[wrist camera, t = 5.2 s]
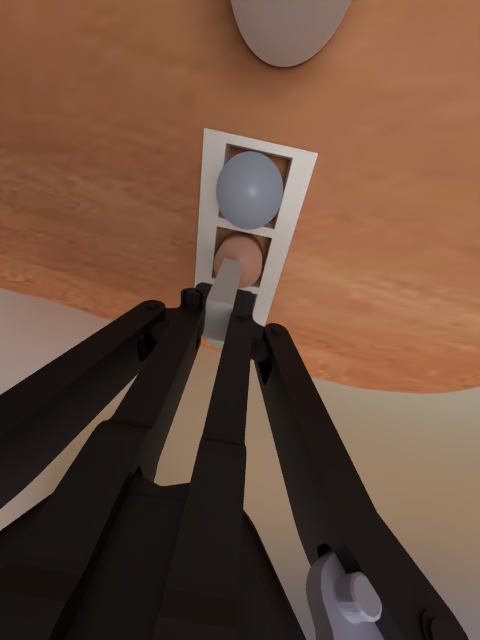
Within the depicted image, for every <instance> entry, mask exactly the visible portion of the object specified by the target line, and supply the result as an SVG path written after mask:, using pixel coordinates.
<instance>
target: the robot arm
mask: <svg viewBox="0 0 480 640" xmlns="http://www.w3.org/2000/svg"><path fill="white" fill-rule="evenodd" d="M242 265H243V262H240V261H236V260H231V259H226V258H224V261H223V263H222V265H221V267H220V270H219V272H218V274H217V276H216V279H215V281H214V283H213V284H209V283H204V282H201V283H199V284H197V285H196V287H195V288H186V289H183V290H182V291H181V305H180V306H179V307H178V308H165V304H164V303H163V302H161V301H157V300H148V301H144V302H142V303H140V304H139V305H137V306H136V307H134V308H133V309H131V310H130V311H128V312H127V313H125V314H124V315H122V316H120V317H119V318H117V319H116V320H114V321H113V322H111V323H110V324H108V325H107V326H105V327H104V328H102V329H101V330H99V331H98V332H96V333H94V334H93V335H91V336H90V337H88V338H87V339H85V340H84V341H82V342H81V343H79V344H78V345H76V346H75V347H73V348H71V349H70V350H69V351H67V352H65V353H64V354H62V355H61V356H59V357H58V358H56V359H55V360H53V361H52V362H50V363H49V364H47V365H45V366H44V367H42V368H41V369H39V370H38V371H36V372H35V373H33V374H32V375H30V376H29V377H27V378H26V379H24V380H23V381H21V382H19V383H18V384H16V385H15V386H13V387H12V388H10V389H9V390H7V391H6V392H4V393H3V394H1V395H0V509H1V508H2V507H3V506H4V505H6V504H7V503H8V502H9V501H10V500H12V499H13V498H14V497H15V496H16V495H17V494H18V493H20V492H21V491H22V490H23V489H24V488H25V487H26V486H27V485H28V484H30V482H32V481H33V480H34V479H35V478H36V477H37V476H38V475H39V474H40V473H41V472H42V471H43V470H44V469H45V468H46V467H47V466H48V465H49V464H50V463H51V462H52V461H53V460H54V459H55V458H56V457H57V455H59V454H60V453H61V452H62V451H63V450H64V449H65V448H66V447H67V445H68V444H69V443H70V442H71V441H72V440H73V439H74V438H75V437H76V436H77V435H78V434H79V433H80V432H81V431H82V430H83V429H84V428H85V427H86V426H87V425H88V424H89V423H90V422H91V421H92V420H93V419H94V418H95V417H96V416H97V415H98V414H99V413H100V412H101V411H102V410H103V409H104V408H105V406H107V405H108V404H109V403H110V402H111V401H112V399H114V397H116V395H117V394H118V393H119V392H120V391H121V390H122V389H123V388H124V387H125V386H126V385H127V384H128V383H129V382H130V381H131V380H132V379H133V378H134V377H135V376H136V375H137V374H138V373H139V374H138V375H137V377H136V379H135V380H134V382H133V383H132V385H131V387H130V388H129V390H128V392H127V393H126V395H125V397H124V398H123V400H122V401H121V403H120V405H119V406H118V408H117V410H116V411H115V413H114V415H113V416H112V417H111V418H110V419H109V420H106V421H102V422H101V423H100V424H99V425H97V427H96V428H95V430H94V431H93V432H92V434H91V435H90V437H89V438H88V440H87V441H86V443H85V444H84V446H83V447H82V449H81V451H80V452H79V454H78V455H77V457H76V458H75V460H74V461H73V463H72V464H71V466H70V467H69V469H68V470H67V472H66V474H65V475H64V477H63V479H62V480H61V481H60V483H59V484H58V486H57V487H56V489H55V491H54V492H53V493H52V494H51V495H49V496H48V497H46V498H45V499H43V500H42V501H41V502H39V503H38V504H37V505H35V506H34V507H32V508H31V509H30V510H28V511H27V512H26V513H24V514H23V515H21V516H20V517H19V518H17V519H16V520H14V521H13V522H12V523H10V524H9V525H8V526H6V527H5V528H3V529H2V530H1V531H0V640H306V638H305V636H304V634H303V631H302V629H301V627H300V625H299V623H298V621H297V618H296V616H295V614H294V612H293V609H292V607H291V605H290V603H289V601H288V599H287V596H286V594H285V592H284V589H283V587H282V585H281V583H280V581H279V578H278V576H277V574H276V572H275V570H274V567H273V565H272V563H271V561H270V559H269V556H268V555H267V552H266V550H265V547H264V545H263V543H262V541H261V539H260V537H259V534H258V532H257V530H256V528H255V526H254V525H253V523H252V521H251V519H250V518H249V516H248V515H247V514H246V512H245V511H244V510H243V502H244V501H243V500H244V486H245V470H246V446H245V425H246V412H247V399H248V386H249V373H250V359H253V360H254V364H255V367H256V371H257V375H258V379H259V383H260V387H261V391H262V395H263V399H264V403H265V406H266V411H267V414H268V419H269V423H270V426H271V430H272V434H273V438H274V442H275V446H276V450H277V454H278V458H279V462H280V466H281V470H282V474H283V478H284V482H285V486H286V489H287V493H288V497H289V501H290V505H291V509H292V513H293V517H294V520H295V524H296V527H297V530H298V534H299V537H300V540H301V543H302V545H303V548H304V550H305V553H306V556H307V558H308V561H309V563H310V565H311V568H310V570H309V573H308V576H307V582H306V593H307V601H308V605H309V608H310V612H311V615H312V619H313V622H314V626H315V633H316V640H469V639H468V637H467V635H466V633H465V632H464V630H463V628H462V627H461V625H460V624H459V622H458V621H457V619H456V617H455V616H454V614H453V613H452V612H451V610H450V609H449V607H448V606H447V605H446V604H445V602H444V601H443V600H442V598H441V597H440V596H439V594H438V593H437V592H436V590H435V589H434V588H433V586H432V585H431V584H430V582H429V581H428V580H427V578H426V577H425V576H424V574H423V573H422V572H421V570H420V569H419V568H418V566H417V565H416V564H415V562H414V561H413V560H412V558H411V557H410V556H409V554H408V553H407V552H406V550H405V549H404V548H403V546H402V545H401V544H400V542H399V541H398V540H397V538H396V537H395V536H394V534H393V533H392V532H391V530H390V529H389V528H388V526H387V525H386V524H385V522H384V521H383V520H382V519H381V517H380V516H379V514H378V513H377V512H376V509H375V508H374V505H373V503H372V501H371V499H370V497H369V495H368V493H367V491H366V489H365V487H364V485H363V483H362V481H361V479H360V477H359V475H358V473H357V471H356V469H355V467H354V465H353V463H352V461H351V459H350V457H349V454H348V453H347V450H346V449H345V446H344V444H343V442H342V440H341V438H340V437H339V434H338V432H337V430H336V428H335V426H334V424H333V422H332V420H331V418H330V416H329V414H328V412H327V410H326V408H325V406H324V404H323V402H322V400H321V398H320V395H319V393H318V391H317V389H316V387H315V385H314V383H313V381H312V379H311V377H310V375H309V373H308V371H307V369H306V367H305V365H304V363H303V361H302V359H301V357H300V355H299V353H298V351H297V349H296V347H295V345H294V343H293V340H292V338H291V336H290V334H289V332H288V331H287V329H286V328H285V327H283V326H282V325H279V324H275V323H270V324H267V325H266V326H265V327H264V326H262V325H260V324H258V323H257V322H255V321H254V319H253V316H252V314H253V300H254V295H253V294H252V292H251V291H246V290H241V289H238V286H239V281H240V275H241V270H242ZM202 334H203V337H204V338H209V339H214V340H219V341H224V345H223V349H222V353H221V358H220V362H219V366H218V370H217V375H216V379H215V383H214V387H213V392H212V396H211V400H210V405H209V409H208V413H207V417H206V422H205V426H204V430H203V435H202V437H201V440H200V444H199V448H198V452H197V456H196V461H195V465H194V469H193V473H192V477H191V482H190V483H185V484H177V485H171V486H159V485H157V484H155V483H154V478H155V475H156V469H157V465H158V461H159V458H160V455H161V452H162V450H163V447H164V444H165V441H166V438H167V435H168V433H169V430H170V427H171V424H172V422H173V418H174V416H175V413H176V411H177V408H178V405H179V402H180V399H181V396H182V394H183V391H184V388H185V385H186V382H187V380H188V377H189V374H190V371H191V369H192V366H193V363H194V360H195V358H196V355H197V352H198V349H199V346H200V344H201V336H202Z"/></svg>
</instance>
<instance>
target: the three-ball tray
mask: <svg viewBox="0 0 480 640" xmlns="http://www.w3.org/2000/svg"><path fill="white" fill-rule="evenodd" d="M230 146H231V147H235V148H240V149H244V150H249V151H253V152H258V153H262V154H267V155H271V156H276V157H280V158H285V159H289V160H290V162H289V166H288V170H287V174H286V178H285V182H284V186H283V197H282V202H281V205H280V208H279V210H278V212H277V213H276V217H275V221H274V224H271V223H267V224H266V225H264V226H262V227H260V228H257V229H252V230H246V229H241V228H238V227H236V226H234V225H232V224H231V223H230V222H229V221H228V220H227V219H226V218H225V217H224V216H223V214H222V212H221V211H220V208H219V206H218V203H217V198H216V185H217V180H218V176H219V174H220V172H221V170H222V168H223V167H224V165H225V164H226V163H227V162H228V161H229V154H230ZM317 155H318V153H314V152H309V151H305V150H300V149H296V148H292V147H287V146H283V145H278V144H274V143H269V142H265V141H260V140H256V139H251V138H247V137H243V136H238V135H234V134H229V133H225V132H220V131H216V130H211V129H207V128H204V138H203V155H202V171H201V188H200V204H199V220H198V237H197V253H196V269H195V286H194V288H195V287H196V285H197V284H199V283H201V282H204V283H209V284H213V283H214V281H215V279H216V276H217V275H216V273H215V270H214V258H215V255H216V253H217V251H218V246H219V238H220V229H221V227H223V228H228V229H232V230H237V231H242V232H246V233H251V234H256V235H260V236H265V237H270V241H269V245H268V249H267V253H266V257H265V261H264V265H263V268H262V272H261V276H260V279H257V280H256V282H255V283H253V284H252V285H250V286H248V287H245V288H238V289H241V290H246V291H251V292H252V293H253V294H256V296H255V300H254V304H253V314H252V316H253V319H254V321H255V322H257V323H258V324H260V325H262V326H265V323H266V320H267V316H268V313H269V310H270V307H271V304H272V300H273V297H274V294H275V291H276V287H277V284H278V281H279V278H280V275H281V271H282V268H283V265H284V262H285V258H286V255H287V252H288V249H289V246H290V242H291V239H292V236H293V233H294V229H295V226H296V223H297V220H298V217H299V213H300V210H301V207H302V204H303V200H304V197H305V194H306V191H307V188H308V184H309V181H310V178H311V175H312V172H313V168H314V165H315V162H316V159H317Z"/></svg>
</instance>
